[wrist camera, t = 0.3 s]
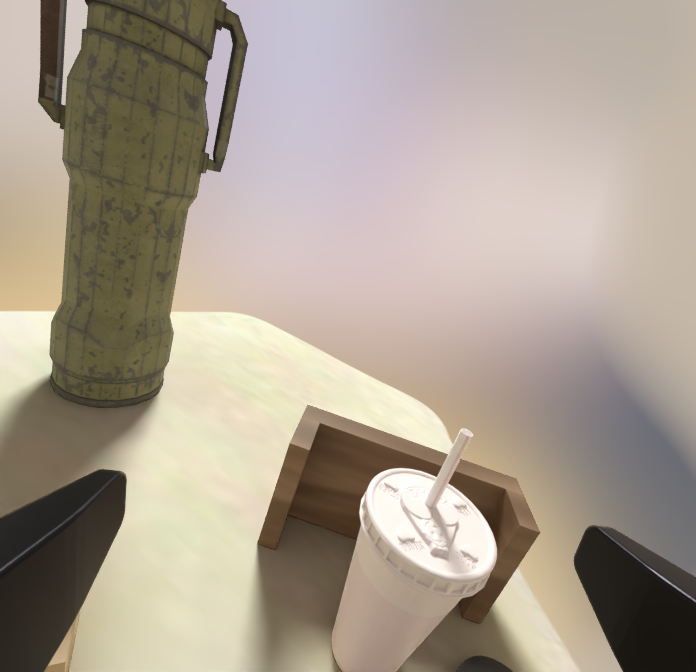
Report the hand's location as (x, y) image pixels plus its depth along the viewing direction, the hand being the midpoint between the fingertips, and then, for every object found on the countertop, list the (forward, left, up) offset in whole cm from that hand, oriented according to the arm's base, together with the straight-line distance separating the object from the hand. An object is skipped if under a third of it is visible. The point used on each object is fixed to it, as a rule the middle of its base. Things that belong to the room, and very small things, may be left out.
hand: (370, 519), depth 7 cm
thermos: (+27, +16, -17) cm, 35 cm away
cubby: (+14, -7, -16) cm, 22 cm away
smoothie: (+8, -6, -17) cm, 19 cm away
